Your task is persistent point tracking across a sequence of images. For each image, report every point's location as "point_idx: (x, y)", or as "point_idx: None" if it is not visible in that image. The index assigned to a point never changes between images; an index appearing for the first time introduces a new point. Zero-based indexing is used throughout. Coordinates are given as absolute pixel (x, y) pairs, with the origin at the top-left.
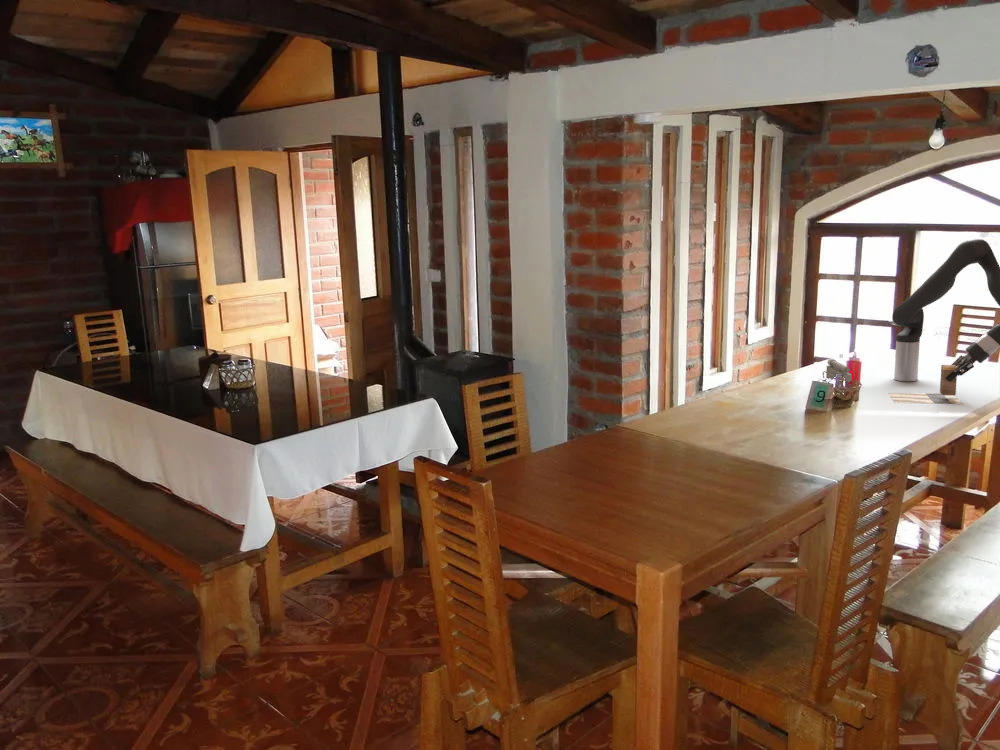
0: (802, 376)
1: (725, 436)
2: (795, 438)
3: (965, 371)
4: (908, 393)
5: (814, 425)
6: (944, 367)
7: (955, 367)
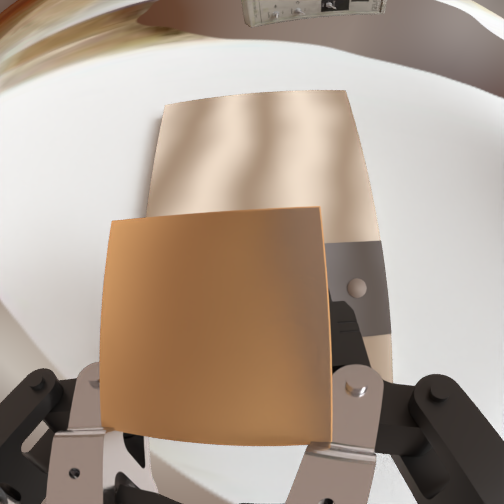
0: (487, 17)
1: (48, 8)
2: (10, 53)
3: (28, 457)
4: (362, 159)
5: (49, 41)
6: (112, 229)
7: (102, 399)
